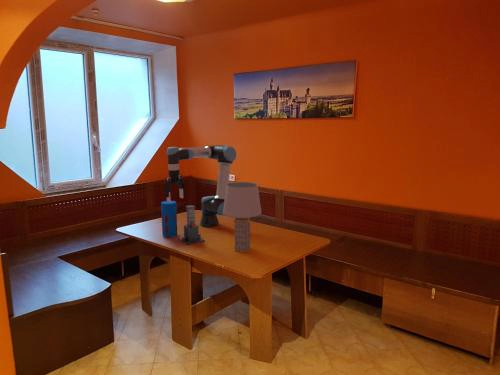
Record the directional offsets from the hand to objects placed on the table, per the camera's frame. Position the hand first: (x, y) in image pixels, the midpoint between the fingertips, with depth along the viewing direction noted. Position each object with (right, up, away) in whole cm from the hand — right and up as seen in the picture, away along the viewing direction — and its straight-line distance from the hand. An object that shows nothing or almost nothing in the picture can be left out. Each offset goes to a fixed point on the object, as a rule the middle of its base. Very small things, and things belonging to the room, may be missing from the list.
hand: (175, 199), depth 273 cm
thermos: (-7, -27, +16) cm, 32 cm away
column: (+11, -27, +3) cm, 29 cm away
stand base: (+11, -29, +4) cm, 31 cm away
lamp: (+47, -33, -15) cm, 59 cm away
